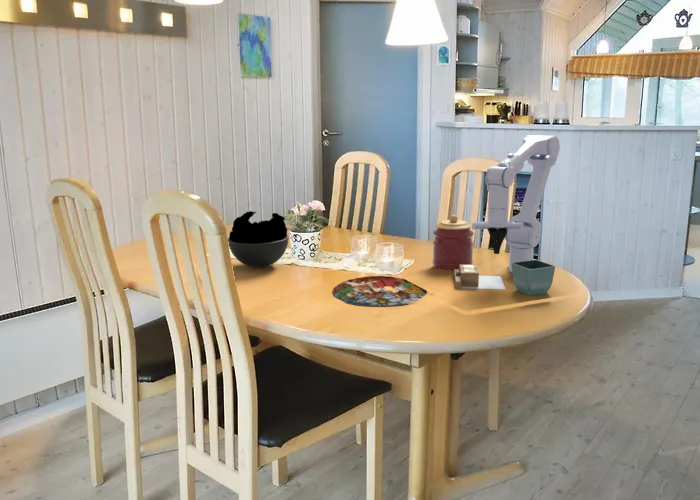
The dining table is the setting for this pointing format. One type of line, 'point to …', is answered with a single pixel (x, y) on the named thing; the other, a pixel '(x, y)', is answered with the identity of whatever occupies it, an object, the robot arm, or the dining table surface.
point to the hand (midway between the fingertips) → (496, 253)
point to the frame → (469, 275)
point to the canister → (452, 244)
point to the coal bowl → (258, 240)
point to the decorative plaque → (378, 291)
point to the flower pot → (532, 276)
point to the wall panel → (481, 282)
